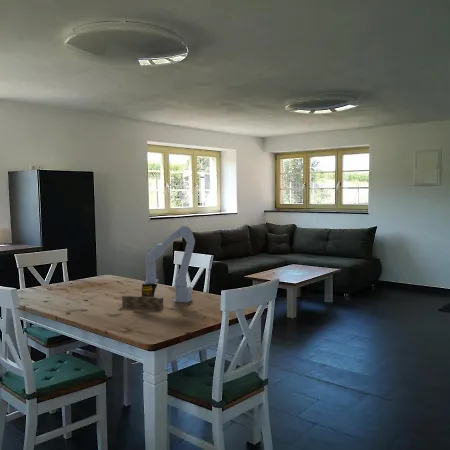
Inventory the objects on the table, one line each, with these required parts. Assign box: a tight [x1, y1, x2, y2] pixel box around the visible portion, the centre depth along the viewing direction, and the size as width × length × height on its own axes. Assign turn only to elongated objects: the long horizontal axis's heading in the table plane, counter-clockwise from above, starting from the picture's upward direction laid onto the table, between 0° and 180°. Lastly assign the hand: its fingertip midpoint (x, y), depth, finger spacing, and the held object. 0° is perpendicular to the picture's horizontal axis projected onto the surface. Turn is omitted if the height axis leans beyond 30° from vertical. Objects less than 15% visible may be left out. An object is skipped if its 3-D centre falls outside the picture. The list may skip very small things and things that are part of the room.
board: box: [121, 294, 164, 310], centre depth 245 cm, size 24×2×6 cm, turn 73°
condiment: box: [141, 282, 152, 297], centre depth 251 cm, size 7×8×12 cm
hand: (151, 296), depth 258 cm, fingers closed
